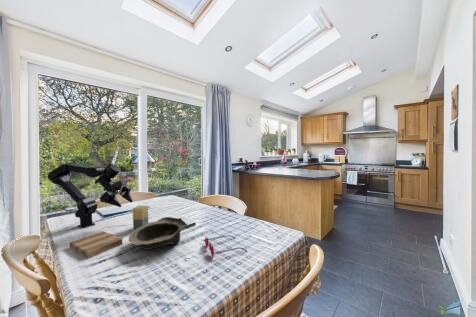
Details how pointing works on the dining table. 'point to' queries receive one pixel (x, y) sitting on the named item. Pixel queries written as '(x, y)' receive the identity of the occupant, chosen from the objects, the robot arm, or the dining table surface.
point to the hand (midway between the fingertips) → (126, 204)
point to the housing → (140, 216)
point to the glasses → (213, 248)
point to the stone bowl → (158, 233)
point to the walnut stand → (95, 244)
